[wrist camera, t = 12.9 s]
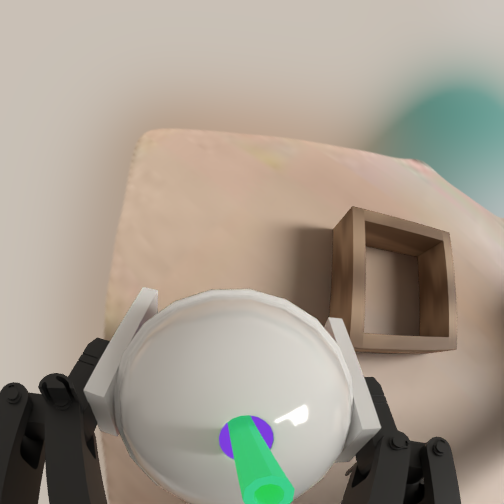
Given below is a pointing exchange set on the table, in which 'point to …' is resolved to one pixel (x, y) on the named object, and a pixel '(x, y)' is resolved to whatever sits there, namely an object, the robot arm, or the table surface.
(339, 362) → the smoothie
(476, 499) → the table surface
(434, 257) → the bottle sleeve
